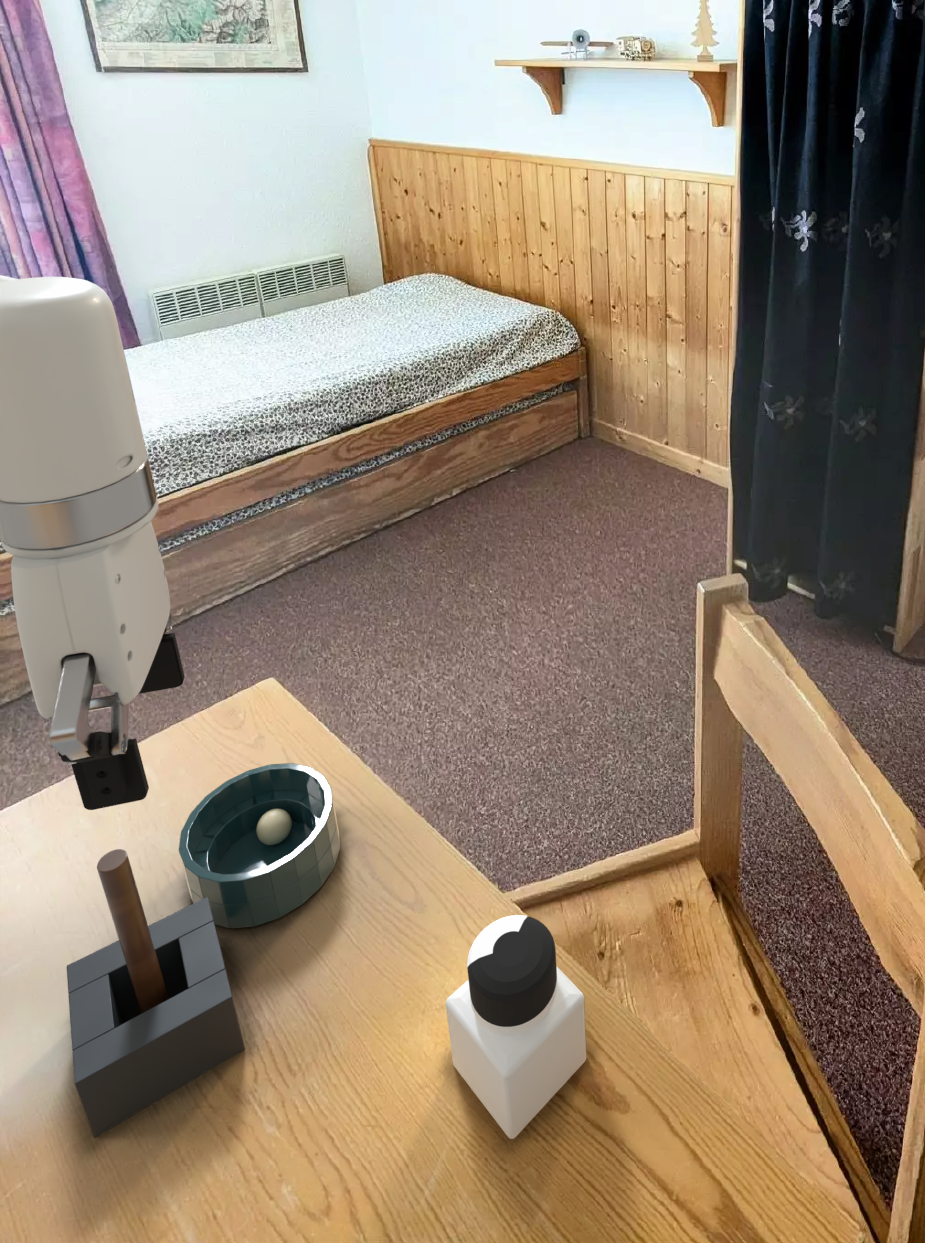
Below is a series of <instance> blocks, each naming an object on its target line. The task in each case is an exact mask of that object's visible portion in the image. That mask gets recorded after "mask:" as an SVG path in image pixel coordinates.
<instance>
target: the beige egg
mask: <svg viewBox="0 0 925 1243" xmlns="http://www.w3.org/2000/svg"><path fill="white" fill-rule="evenodd" d="M291 826H292V820H291V817H290V815H289V814H288V813H287V812H286V811H285V810H283V809H272V810H270V811H268V812H266V813H265V814H264V815H263V816H262V817H261V818H260V820H259V822H258V824H257V830H256V831H257V836H258V838H259V840H260V841H261V842H262V843H264V844H266V845H276V844H278V843H280V842H282V841H283V840H284V839H285V838H286V837H287V836H288V834H289V833H290V830H291Z"/></svg>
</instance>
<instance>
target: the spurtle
mask: <svg viewBox="0 0 925 1243" xmlns="http://www.w3.org/2000/svg"><path fill="white" fill-rule="evenodd" d="M96 869H97V873H98V877H99V879H100V882H101V885H102V889H103V894H104V896H105V899H106V902H107V903H106V904H107V906H108V909H109V912H110V916H111V918H112V921H113V925H114V930H115V931H116V935H117V938H118V940H119V942H120V945H121V948H122V952H123V955H124V958H125V961H126V965H127V968H128V971H129V974H130V978H131V981H132V984H133V987H134V991H135V994H136V997H137V1001H138V1004H139V1007H140V1010H141V1014H142V1013H144V1012H146V1011H148V1010H150V1009H151V1008H153V1007H155V1006H157V1005H159V1004H161V1003H163V1002H165V1001H166V1000H168V999H169V997H168V994H167V990H166V987H165V983H164V980H163V976H162V973H161V969H160V966H159V962H158V959H157V955H156V952H155V948H154V945H153V941H152V938H151V934H150V931H149V927H148V926H149V925H148V921H147V917H146V914H145V910H144V906H143V903H142V900H141V896H140V893H139V889H138V885H137V883H136V879H135V876H134V873H133V868H132V865H131V862H130V858H129V854H128V852H127V850H125V849H121V848H118V849H117V848H116V849H114V850H111V851H109V852H106V853H105V854H104V855H103V856H101V857H100V859H99V860H98V862H97V865H96Z"/></svg>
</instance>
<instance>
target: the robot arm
mask: <svg viewBox="0 0 925 1243" xmlns="http://www.w3.org/2000/svg"><path fill="white" fill-rule="evenodd" d="M113 304H114V303H113V302H112V300H111V298H110V296H109V295H108V293H106V291H105V290H104V289H103V288H102V287H100V286H99V285H98V284H96V283H93V282H92V281H89V280H87V279H82V278H75V277H70V276H69V277H67V276H37V277H26V278H16V277H12V276H11V277H10V276H6V275H2V274H0V543H1V547H2V549H3V550H4V551H5V552H6V553H8V554H9V555H11V556H13V557H12V559H11V561H10V574H11V589H12V597H13V606H14V613H15V620H16V625H17V631H18V636H19V640H20V645H21V649H22V654H23V658H24V664H25V668H26V671H27V676H28V680H29V684H30V687H31V688H30V689H31V691H32V695H33V699H34V704H35V706H36V710H37V711H38V714H39V715H40V716H41V717H42V718H43V719H45V720H50V719H51V723H50V727H49V728H50V729H49V734H48V737H49V738H48V740H49V744H50V746H51V747H52V748H53V749H55V750H56V751H57V755H58V757H60V759H61V761H62V762H63V763H65V764H66V765H69V766H71V769H72V772H73V776H74V779H75V782H76V785H77V788H78V791H79V796H80V798H81V802H82V805H83V807H84V809H86V810H88V811H94V810H100V809H105V808H109V807H114V806H118V805H119V806H120V805H125V804H130V803H133V802H134V803H135V802H140V801H142V800H144V799H146V798H147V796H148V792H149V790H150V787H149V783H148V782H149V781H148V778H147V774H146V772H145V767H144V763H143V760H142V759H143V758H142V755H141V752H140V747H139V745H138V740H137V738H129V715H130V714H129V711H130V710H129V708H130V703H131V702H132V701H134V699H135V698H136V697H137V696H138V695H141V694H145V693H146V694H147V693H151V692H158V691H163V690H169V689H174V688H179V687H181V686H182V685H183V684H184V682H185V681H184V680H185V679H186V678H185V672H184V668H183V664H182V659H181V655H180V649H179V646H178V641H177V637H176V632H172V630H173V624H174V620H173V616H172V613H171V595H170V588H169V584H168V578H167V573H166V569H165V565H164V561H163V556H162V553H161V549H160V546H159V542H158V539H157V536H156V532H155V528H154V526H153V523H152V521H153V519H154V518H155V517H156V515H157V513H158V511H159V506H160V504H159V500H158V496H157V493H156V488H155V483H154V479H153V474H152V470H151V465H150V461H149V456H148V452H147V448H146V443H145V439H144V433H143V430H142V426H141V420H140V416H139V412H138V407H137V403H136V398H135V394H134V389H133V384H132V382H131V381H132V380H131V376H130V373H129V372H130V371H129V368H128V363H127V358H126V354H125V349H124V345H123V340H122V336H121V331H120V328H119V321H118V318H117V315H116V310H115V308H114V305H113ZM170 632H171V633H170ZM100 686H103V687H104V688H106V689H107V690H108V692H109V693H111V695H105V696H100V697H94V698H92V695H93V690H94V687H100ZM105 709H110V732H108V731H101V730H100V731H99V730H98V731H95V732H93V731H92V728H93V727H92V726H91V725H90V722H89V713H90V712H94V711H100V710H105Z"/></svg>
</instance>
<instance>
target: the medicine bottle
mask: <svg viewBox="0 0 925 1243" xmlns="http://www.w3.org/2000/svg"><path fill="white" fill-rule="evenodd" d="M554 939H555V938H554V937H553V934H552V932H551V931H550V930H549V928H548V927H547V926H546V925H545V924H544V923H543V922H541V920H538V919H537V918H534V917H532V916H529V915H524V914H513V915H511V914H510V915H507V916H503V917H501V918H498V919H497V920H494V921H493V922H491V923H490V924H488V925H487V926H486V927H484V928H483V929H482V930H481V931H480V932H479V933H478V935H477V936H476V938H475V939H474V941H473V942H472V944H471V945H470V946H471V947H470V949H469V952H468V956H467V962H466V963H467V964H466V968H467V969H466V970H467V978H468V979H467V980H465V982H464V983H463V984H462V985H461V986H459V987H458V988H457V989H456V990H455V991H454V992H453V993H452V994H451V995H449V996H448V997H447V999H446V1001H445V1010H446V1016H447V1017H446V1019H447V1026H448V1032H449V1033H448V1035H449V1043H450V1052H451V1059H452V1066H453V1067H454V1068H455V1070H456V1071H457V1072H458V1074H459V1075H460V1076H461V1077H462V1079H463V1081H465V1083H466V1084H467V1085H468V1087H469V1088H470V1089H471V1091H472V1092H473V1093H474V1095H475V1096H476V1097H477V1099H478V1100H479V1101H480V1103H481V1104H482V1105H483V1106H484V1108H485V1109H486V1110H487V1111H488V1113H489V1114H490V1115H491V1117H492V1118H493V1119H494V1121H495V1122H496V1123H497V1125H498V1126H499V1127H500V1129H501V1130H502V1131H503V1132H504V1134H505V1135H506V1137H507V1138H508V1139H510V1140H514V1139H516V1138H517V1137H518V1135H520V1133H521V1132H522V1131H523V1130H524V1129H525V1128H526V1126H528V1125H529V1123H530V1122H531V1121H533V1119H534V1118H535V1117H536V1116H537V1114H538V1113H539V1112H540V1111H541V1110H542V1109H543V1108H544V1107H545V1106H546V1105H547V1104H548V1103H549V1102H550V1100H551V1099H552V1098H553V1097H554V1096H556V1094H557V1093H558V1092H559V1091H560V1089H562V1087H563V1086H564V1085H565V1084H566V1083H567V1082H568V1081H569V1080H570V1079H571V1077H573V1075H574V1074H575V1073H576V1072H577V1071H578V1070H579V1069H580V1068H581V1066H583V1064H584V1063H585V1062H586V1060H587V1034H586V1032H587V1031H586V1010H585V1006H586V1005H585V995H584V993H583V992H582V991H581V990H580V989H579V988H578V987H577V986H576V985H575V984H574V982H573V981H571V979H570V978H569V977H568V976H567V975H566V974H565V973H564V972H563V971H562V970H561V969H560V968H559V967H558V966H557V951H556V943H555V940H554Z"/></svg>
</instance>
